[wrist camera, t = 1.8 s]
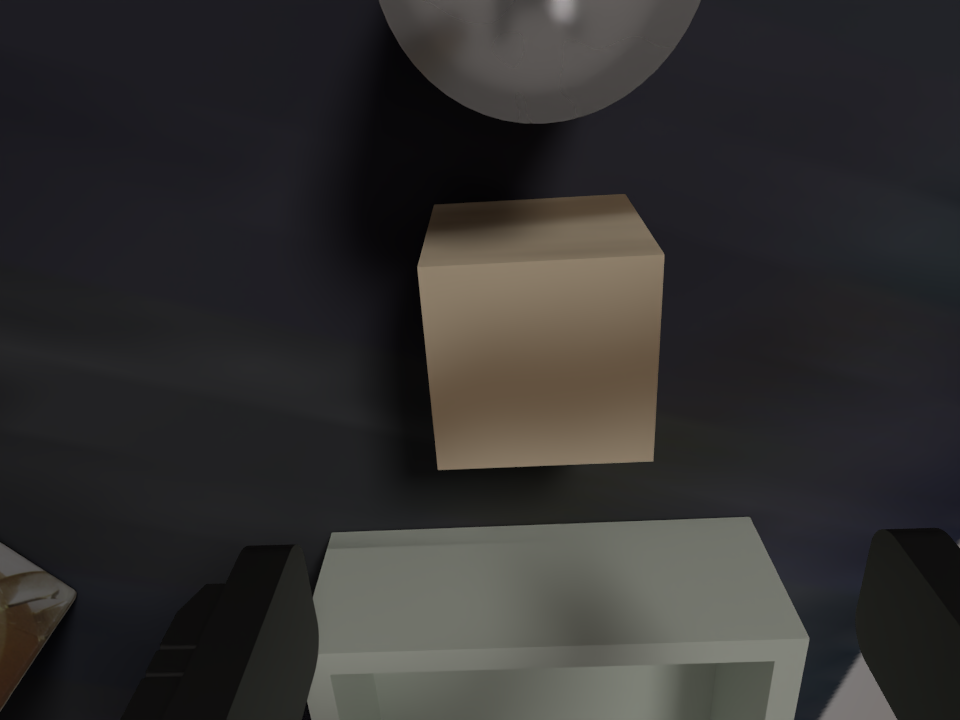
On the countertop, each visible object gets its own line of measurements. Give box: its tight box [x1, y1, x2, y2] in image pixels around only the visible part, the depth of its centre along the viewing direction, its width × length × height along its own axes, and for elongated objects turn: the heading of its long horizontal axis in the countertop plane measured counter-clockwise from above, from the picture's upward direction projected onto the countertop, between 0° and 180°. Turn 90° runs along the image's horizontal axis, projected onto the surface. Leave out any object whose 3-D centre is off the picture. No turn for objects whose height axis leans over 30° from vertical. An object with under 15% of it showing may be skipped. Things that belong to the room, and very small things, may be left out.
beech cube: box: [417, 194, 664, 470], centre depth 18 cm, size 5×5×5 cm
